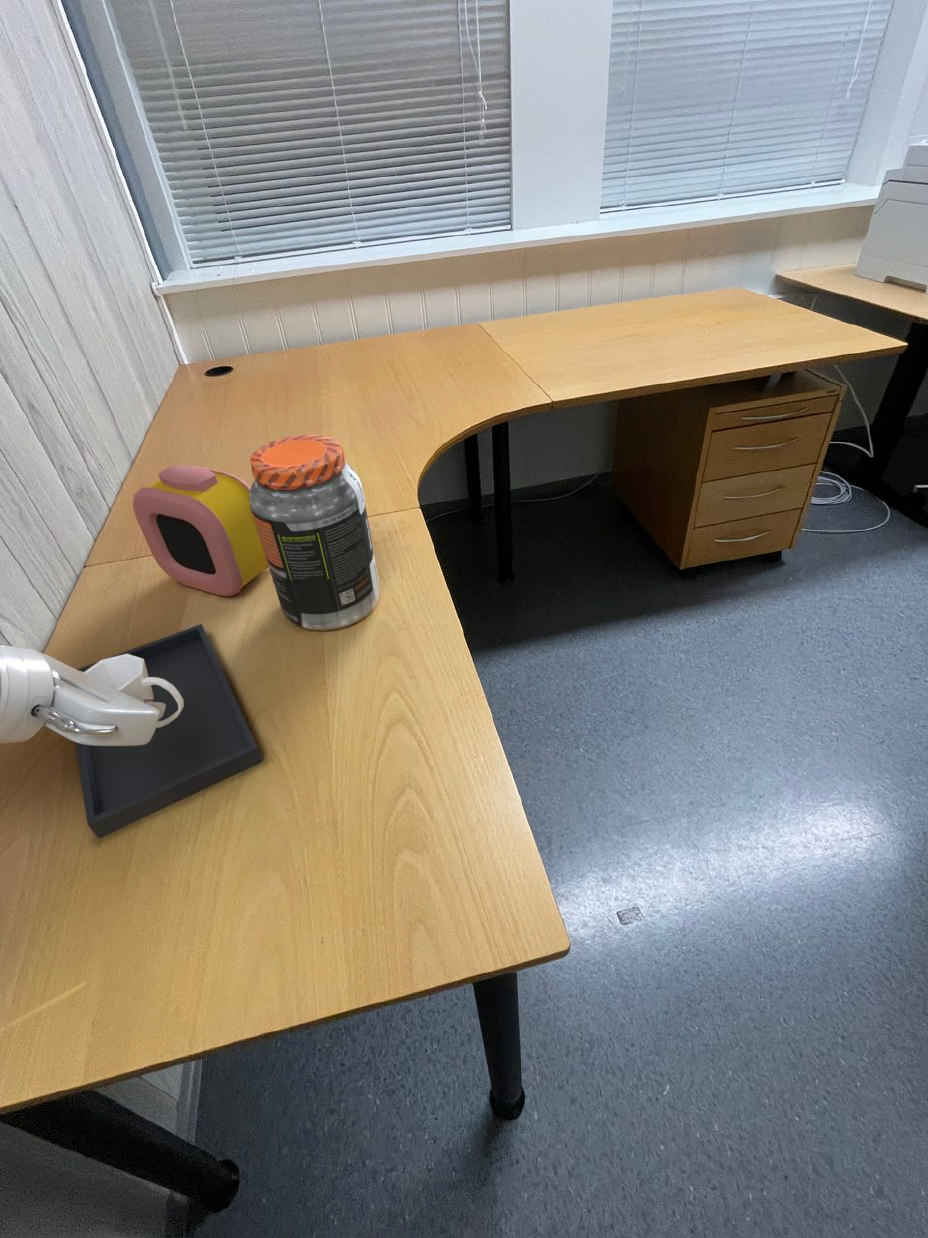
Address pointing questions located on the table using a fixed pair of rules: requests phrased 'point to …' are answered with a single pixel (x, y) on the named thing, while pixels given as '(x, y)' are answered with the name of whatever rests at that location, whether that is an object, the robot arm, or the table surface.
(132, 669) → the cup
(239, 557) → the alarm clock
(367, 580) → the supplement tub
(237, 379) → the table surface
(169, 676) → the tray
